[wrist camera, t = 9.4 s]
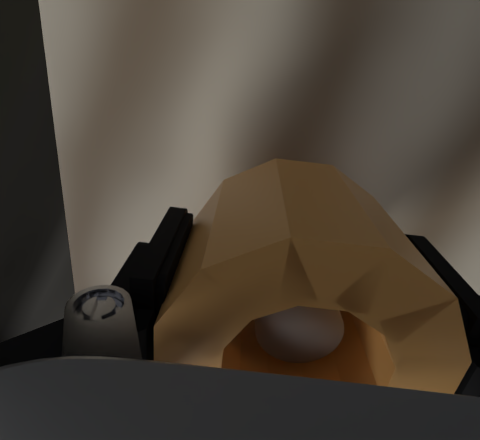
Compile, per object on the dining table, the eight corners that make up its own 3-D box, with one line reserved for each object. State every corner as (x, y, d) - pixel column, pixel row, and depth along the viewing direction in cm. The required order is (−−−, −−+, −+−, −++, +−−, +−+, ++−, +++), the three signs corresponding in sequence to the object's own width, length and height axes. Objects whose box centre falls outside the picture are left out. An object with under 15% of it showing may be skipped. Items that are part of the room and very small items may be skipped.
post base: (591, -4, 11) (1071, -89, 5) (414, 374, 19) (499, 546, 13) (55, -68, 11) (-241, -248, 5) (95, 337, 19) (7, 489, 12)
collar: (410, 173, 10) (526, 264, 6) (355, 334, 13) (407, 477, 9) (197, 149, 10) (153, 221, 6) (188, 315, 13) (154, 450, 9)
